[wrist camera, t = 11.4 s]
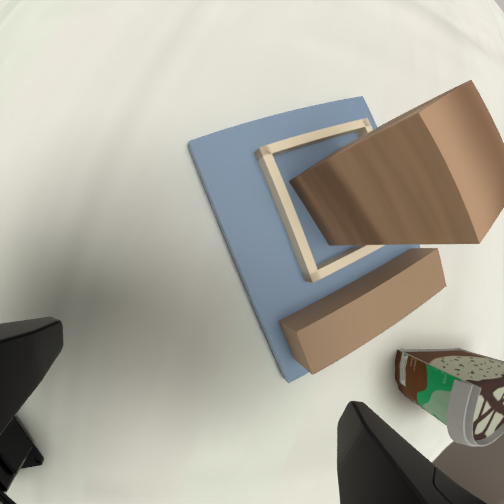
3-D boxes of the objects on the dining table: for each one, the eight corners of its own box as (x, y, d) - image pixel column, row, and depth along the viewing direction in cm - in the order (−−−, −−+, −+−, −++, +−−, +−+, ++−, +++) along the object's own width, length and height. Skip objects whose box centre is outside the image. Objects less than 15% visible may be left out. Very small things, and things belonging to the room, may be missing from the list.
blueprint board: (283, 377, 21) (305, 401, 17) (187, 146, 19) (191, 123, 15) (423, 292, 24) (456, 297, 20) (356, 100, 22) (383, 80, 18)
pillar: (329, 245, 20) (479, 243, 9) (288, 181, 20) (418, 112, 8) (377, 206, 21) (518, 181, 10) (341, 147, 21) (471, 79, 9)
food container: (365, 415, 23) (441, 472, 13) (384, 349, 23) (476, 389, 13) (450, 401, 26) (516, 432, 16) (465, 348, 26) (539, 369, 16)
